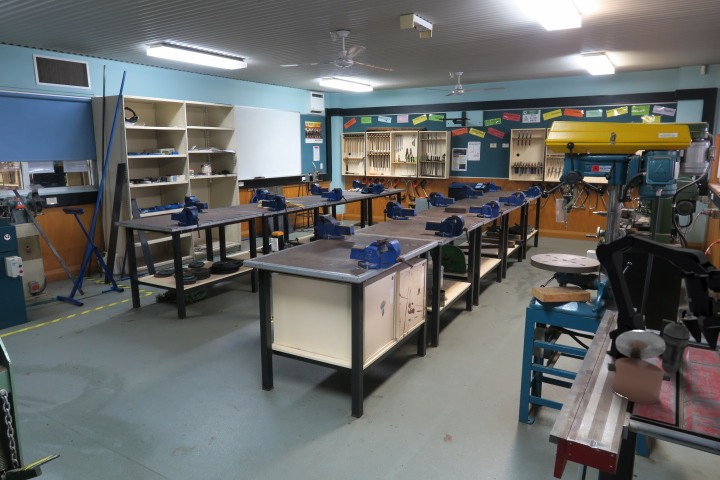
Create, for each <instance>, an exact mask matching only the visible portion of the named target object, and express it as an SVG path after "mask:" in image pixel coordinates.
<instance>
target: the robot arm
mask: <svg viewBox="0 0 720 480" xmlns="http://www.w3.org/2000/svg"><path fill="white" fill-rule="evenodd" d="M630 249H635V250H638V251H641V252H643V253H646V254H650V255H652V256H656V257H658V258H660V259H661V258H662V259H665V260H667V261H669V263H671V264H672V265H674V266H675V267H677V268H679V269H681V270H680V271H679V273H678V274H677V275H676V276H675V279H677V280H679V279H681V280H682V279H683V283H684V288H685V295H686V296H684V297H683V299H684V301H687V307H684V308H683V307H682V308H679V309H678V310H677V317H678V319H679V318H681V319H680V322H681V323H684V325H685V326H686V328H687V329H688V331H689V334H690V335H691V336H692V338H693V340H694V341H695V342H696V344H701V343H702V336H703V337H704V339H705V341H706V344H707V345H708V346H709V348H710V349H711V350H712V351H713V350H716V349H717V346H718V340H719V336H720V298H717V297H714V295H711V293H710V292H711V291H712V292H713V293H715V294H720V269H718V267H716V266H715V264H713V263H712V261H710V260H709V259H708V256H707V253H706V252H704V251H702V250H700V249H693V248H684V247H683V248H682V247H676V246H675V247H674V246H671V245H668V244H665V243H663V242H659V241H656V240H653V239H649V238H646V237H643V236H640V235H638V234H637V233H631V234H626V235H623V236H622V237H620V238H619V239H616V240H613V241H611V242H606V243H605V242H604V243H600V244H599V245H597V247H596V249H595V256H596V259H597V260H598V263H599V264H600V265H601V267H603V269H604V270H605V271H606V274H607V275H606V276H607V277H608V282H609V285H610V288H611V293H612V296H613V299H614V302H615V306H616V310H617V316H616V328H615V329H613V330H611V331H609V332H608V335H609V339H610V340H611V341H610V342H611V343H610V348H609V350H606V351H605V353H606V354H608V355H610V356H612V357H613V356H614V358H615V359H616V360H617V359H620V358H629V357H628V356H626V355H624V354H622V353H620V352H619V351H618V349H617V348H616V339H617V337H618V336H619V335H621V334H622V333H624V332H627V331H632V330H634V329H637V330H645V331H646V326H647V323H646V321H645V319H644V314H643V313H642V312H641V313H638V312H637V311H636V310H635V308H634V304H633V302H632V298H631V294H630V292H629V291H630V290H629V288H628V284H627V281H626V277H625V274H624V271H623V262H624V253H625V252H627V251H629V250H630Z"/></svg>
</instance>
